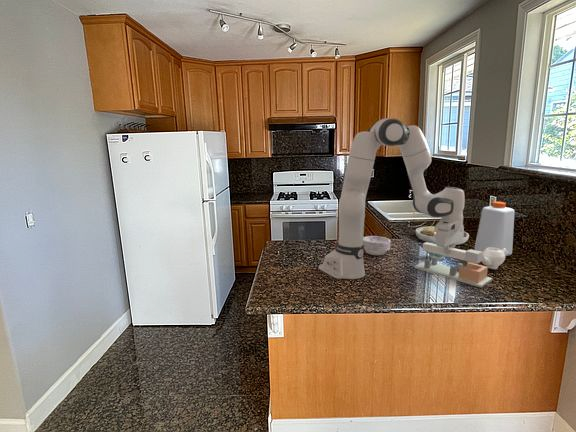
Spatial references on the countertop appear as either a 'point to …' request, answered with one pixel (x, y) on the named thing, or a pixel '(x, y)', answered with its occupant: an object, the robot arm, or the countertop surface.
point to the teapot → (493, 257)
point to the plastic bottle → (496, 228)
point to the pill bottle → (433, 240)
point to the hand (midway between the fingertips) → (449, 252)
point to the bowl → (428, 231)
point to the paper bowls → (376, 245)
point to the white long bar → (454, 253)
